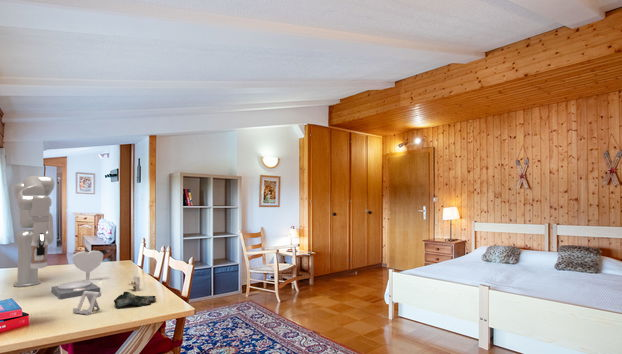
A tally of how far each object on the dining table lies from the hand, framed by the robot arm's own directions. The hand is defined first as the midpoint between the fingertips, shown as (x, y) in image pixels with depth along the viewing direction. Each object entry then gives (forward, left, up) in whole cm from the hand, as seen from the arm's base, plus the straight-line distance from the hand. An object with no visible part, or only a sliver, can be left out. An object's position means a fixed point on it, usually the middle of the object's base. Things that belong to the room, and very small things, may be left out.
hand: (39, 254), depth 189 cm
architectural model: (+22, +40, -22) cm, 51 cm away
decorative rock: (+49, +32, -22) cm, 62 cm away
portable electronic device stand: (+47, +12, -22) cm, 53 cm away
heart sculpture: (-21, +27, -22) cm, 40 cm away
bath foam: (0, 0, -7) cm, 7 cm away
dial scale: (+3, +16, -21) cm, 27 cm away
